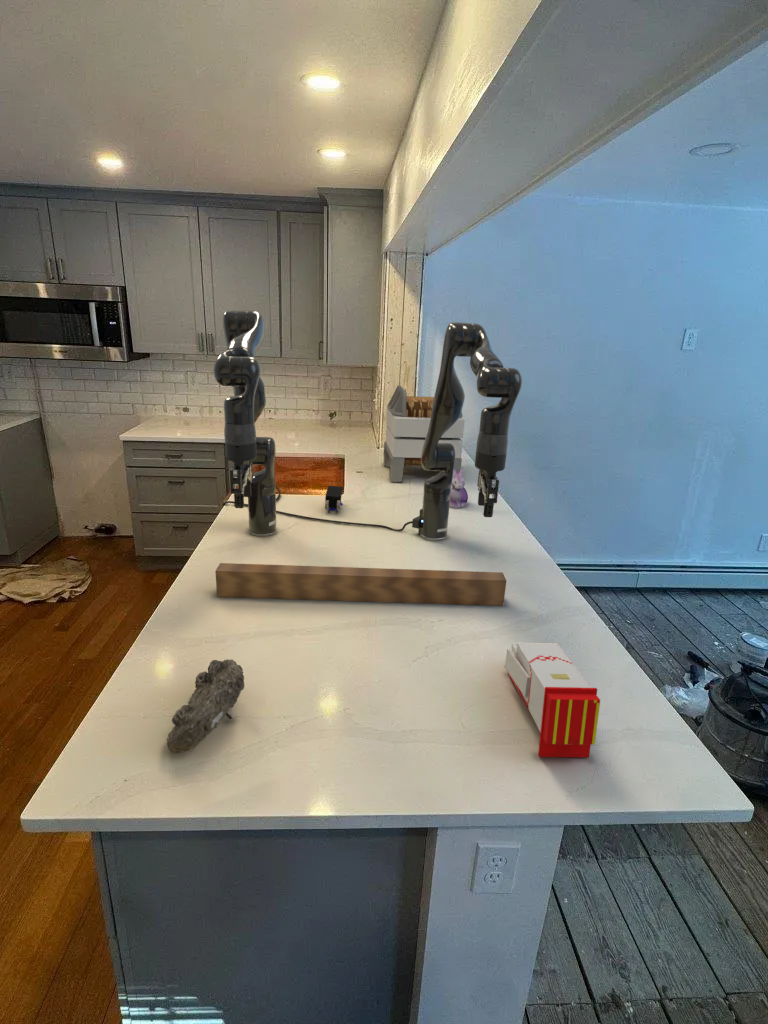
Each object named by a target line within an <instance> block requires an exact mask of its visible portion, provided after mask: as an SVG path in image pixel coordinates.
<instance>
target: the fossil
mask: <svg viewBox="0 0 768 1024" xmlns="http://www.w3.org/2000/svg"><path fill="white" fill-rule="evenodd" d="M243 670H244V669H243V667H242V665H240V664H237V662H236V661H235V660H234V659H232V658H231V659H227V658H226V659H224V660H223V661H222V660H217V659H212V660H211V661H210V663H209V665H208V666H207V671H201V672H199V673H198V674H197V675H196V676H195V680H194V684H195V685H194V687H195V689H194V690H193V693H192V694H191V697H190V698H189V700H188V704H184V705H182V706H181V707H180V709H177V710H176V711H175V713H174V715H173V716H172V718H171V723H172V724H173V727H172V730H171V731H170V732H168V734H167V738H166V741H167V742H166V745H167V749H168V750H169V751H173V752H174V753H176V754H178V753H182V752H188V751H189V752H192V751H193V750H195V748H196V747H197V746H199V744H200V743H201V742H203V741H204V740H205V739H206V738H207V737H208V736H209V735H210V734H211V733H212V732H214V730H215V729H217V727H218V726H219V724H220V722H221V721H222V720H223V719H224V718H225V716H226V717H227V719H229V720H233V717H232V715H230V714H229V710H230V709H231V708H234V706H235V704H236V703H237V702H238V699H239V697H240V695H241V693H242V691H243V690H245V689H244V688H245V675H244V671H243Z"/></svg>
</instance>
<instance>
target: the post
mask: <svg viewBox="0 0 768 1024" xmlns="http://www.w3.org/2000/svg"><path fill="white" fill-rule="evenodd" d="M214 572H215V573H214V574H215V585H216V587H215V589H216V597H219V598H220V597H221V598H246V599H247V598H249V599H251V598H252V599H277V600H278V599H280V600H309V601H310V600H311V601H312V600H314V601H338V602H339V601H340V602H344V601H345V602H346V601H347V602H375V603H376V602H377V603H403V604H405V603H406V604H433V605H434V604H435V605H436V604H437V605H466V606H494V607H495V606H499V607H500V606H501V607H503V606H504V604H505V598H506V597H505V595H506V588H507V578H506V576H505V574H504V572H499V571H498V572H497V571H472V570H442V569H441V570H439V569H438V570H437V569H413V568H412V569H409V568H408V569H406V568H382V567H380V568H378V567H354V566H353V567H351V566H350V567H349V566H325V565H324V566H319V565H317V566H316V565H294V564H293V565H291V564H262V563H261V564H260V563H232V562H231V563H229V562H220V563H219V564H218V565H217V567H216V569H215V571H214Z"/></svg>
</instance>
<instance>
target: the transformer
mask: <svg viewBox="0 0 768 1024" xmlns="http://www.w3.org/2000/svg"><path fill="white" fill-rule="evenodd" d="M407 394H408V393H407V390H406V389H404V388H403V387H402V385H399V384H398V385H397V386H396V388H395V390H394V392H393V394H392V395H391V398H390V400H389V402H388V404H387V405H386V413H385V414H386V415H385V423H386V428H385V438H384V442H383V466H384V467H388V468H389V475H388V476H389V477H388V478H389V480H390V482H391V483H402V482H403V475H404V469H405V466H406V467H407V466H411V467H412V466H413V467H415V466H416V467H417V466H418V467H422V465H421V454H422V449H423V445H424V442H425V438H426V435H427V431H428V428H429V423H430V418H431V412H432V406H433V401H434V396H415V395H414V396H413V395H412V396H411V395H407ZM464 429H465V419H464V418H463V411H462V412H461V415H460V417H459V418H458V420H457V421H456V422H455V423H454V424H453V425H452V426H451V427H450V428H449V429H448V430H447V431H446V432H445V433H444V434H443V435H442V437H441V438H440V440H439V442H438V443H450V444H452V445H453V446H454V449H455V464H454V469H455V470H456V472H457V473H459V471H460V469H462V461H463V460H462V453H463V442H464V441H463V440H462V439H463V438H464V431H465V430H464ZM452 479H453V478H452Z"/></svg>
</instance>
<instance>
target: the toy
mask: <svg viewBox="0 0 768 1024" xmlns="http://www.w3.org/2000/svg"><path fill="white" fill-rule="evenodd" d="M504 668H505V670H506V671H507V675H508V676H509V678H510V680H511V682H512V683H513V685H514V687H515V688H516V690H517V691H518V693H519V695H520V697H521V698H522V700H523V702H524V703H525V705H526V707H527V708H528V711H529V713H530V715H531V717H532V719H533V721H534V723H535V725H536V727H537V729H538V731H539V743H538V753H537V755H538V757H539V758H590V753H591V746H593V745H595V744H596V738H597V729H598V722H599V713H600V706H601V699H600V698H599V696H598V688H597V687H591V686H590V684H589V683H588V682H587V680H586V679H585V678H584V676H583V675H582V674H581V672H580V671H579V669H578V668H577V667H576V666H575V664H574V663H573V661H572V660H571V659H570V658H569V657H568V655H567V654H566V653H565V651H564V649H563V648H562V647H561V646H560V645H559V643H556V642H555V643H554V642H516V643H511V648H507V649H506V654H505V662H504Z"/></svg>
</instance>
